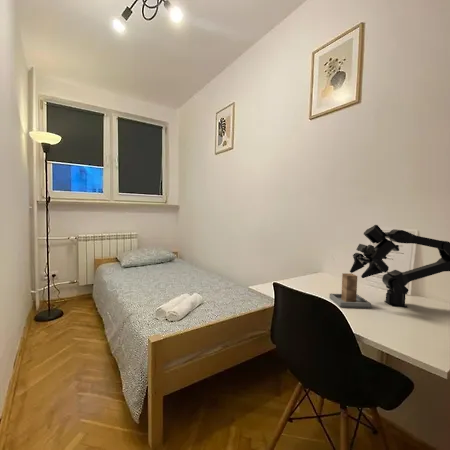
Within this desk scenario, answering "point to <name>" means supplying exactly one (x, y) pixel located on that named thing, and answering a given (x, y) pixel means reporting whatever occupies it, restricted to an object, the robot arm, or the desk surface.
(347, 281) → the block
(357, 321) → the desk surface
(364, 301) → the tray
